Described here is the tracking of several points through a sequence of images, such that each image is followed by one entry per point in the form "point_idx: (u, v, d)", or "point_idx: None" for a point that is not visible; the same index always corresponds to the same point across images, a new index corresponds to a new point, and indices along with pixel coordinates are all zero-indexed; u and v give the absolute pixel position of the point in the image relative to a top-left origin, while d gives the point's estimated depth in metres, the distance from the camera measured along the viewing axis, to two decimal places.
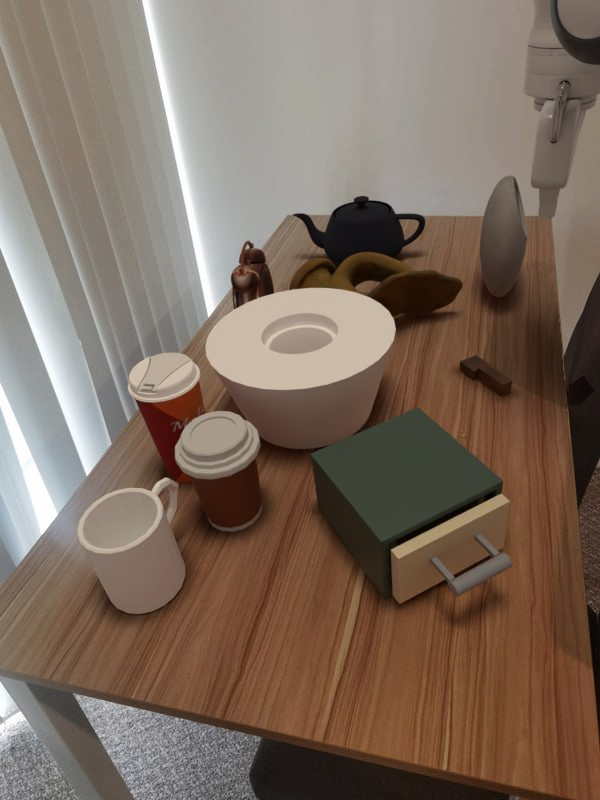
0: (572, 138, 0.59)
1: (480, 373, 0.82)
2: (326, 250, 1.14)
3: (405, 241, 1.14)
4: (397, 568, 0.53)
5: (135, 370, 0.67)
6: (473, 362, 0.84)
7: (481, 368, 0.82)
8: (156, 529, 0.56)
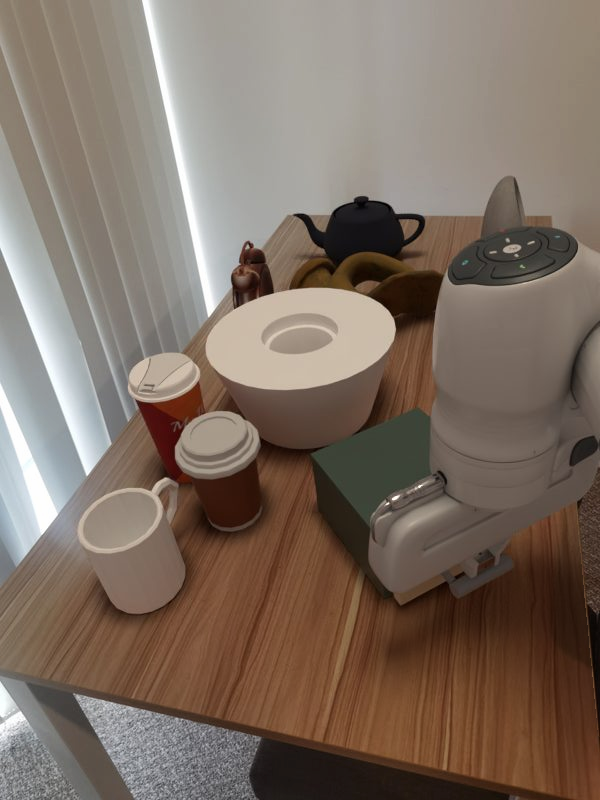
0: (396, 555, 0.43)
1: None
2: (326, 250, 1.14)
3: (405, 241, 1.14)
4: None
5: (135, 370, 0.67)
6: None
7: None
8: (156, 529, 0.56)
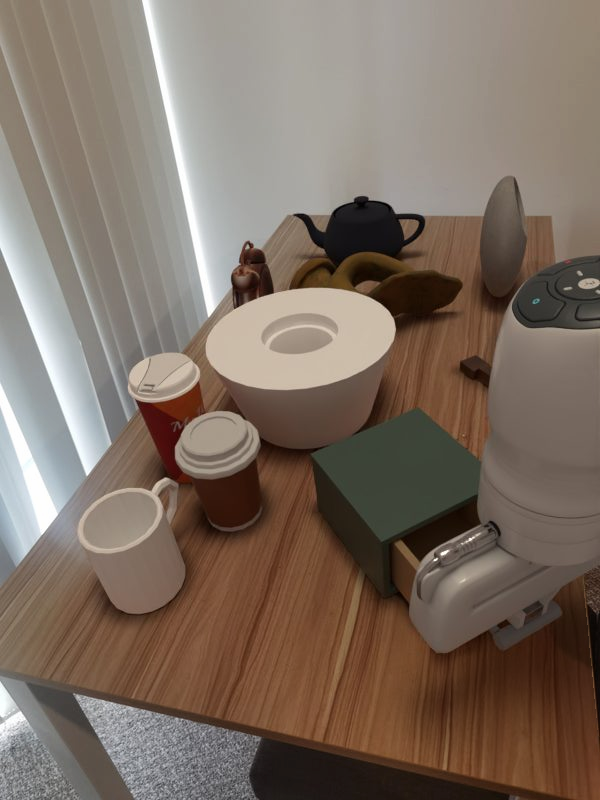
0: (445, 615, 0.39)
1: (480, 373, 0.82)
2: (326, 250, 1.14)
3: (405, 241, 1.14)
4: None
5: (135, 370, 0.67)
6: (473, 362, 0.84)
7: (481, 368, 0.82)
8: (156, 529, 0.56)
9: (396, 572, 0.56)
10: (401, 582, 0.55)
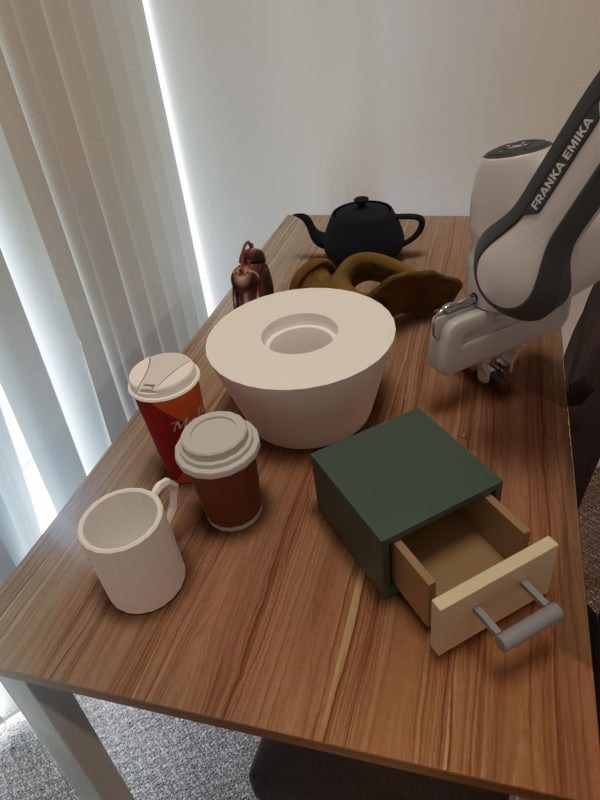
0: (447, 343, 0.71)
1: None
2: (326, 250, 1.14)
3: (405, 241, 1.14)
4: (438, 620, 0.49)
5: (135, 370, 0.67)
6: None
7: None
8: (156, 529, 0.56)
9: (398, 573, 0.55)
10: (402, 584, 0.55)
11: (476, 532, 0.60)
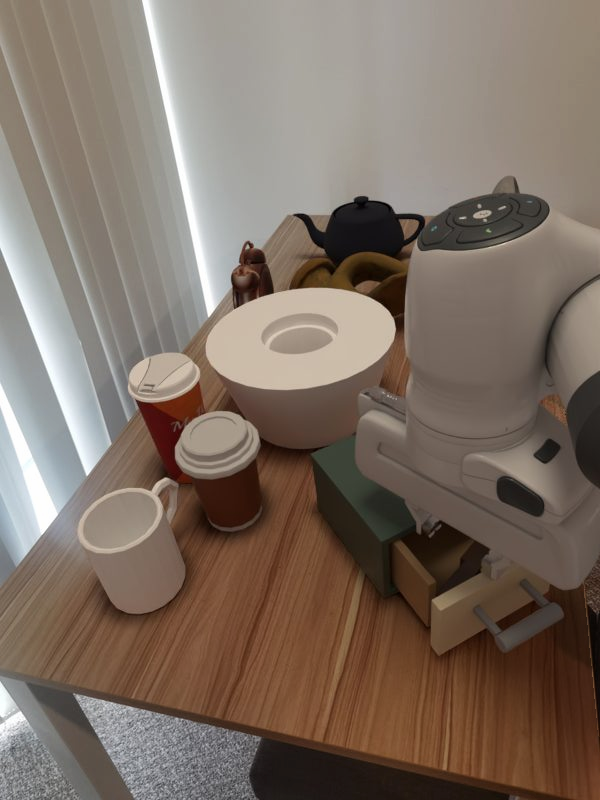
0: (356, 432, 0.50)
1: None
2: (326, 250, 1.14)
3: (405, 241, 1.14)
4: (438, 620, 0.49)
5: (135, 370, 0.67)
6: (481, 553, 0.56)
7: (465, 563, 0.55)
8: (156, 529, 0.56)
9: (398, 573, 0.55)
10: (402, 584, 0.55)
11: None
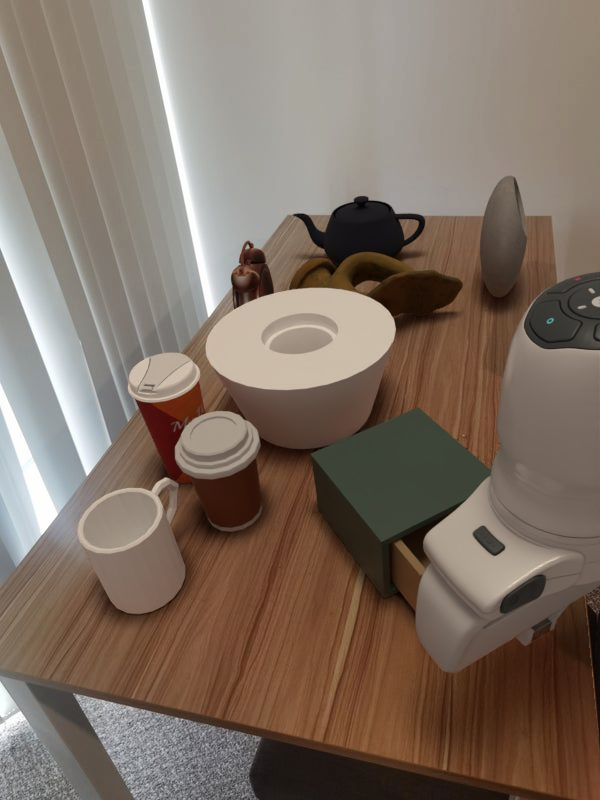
0: None
1: None
2: (326, 250, 1.14)
3: (405, 241, 1.14)
4: None
5: (135, 370, 0.67)
6: None
7: None
8: (156, 529, 0.56)
9: (391, 565, 0.56)
10: (395, 575, 0.56)
11: None
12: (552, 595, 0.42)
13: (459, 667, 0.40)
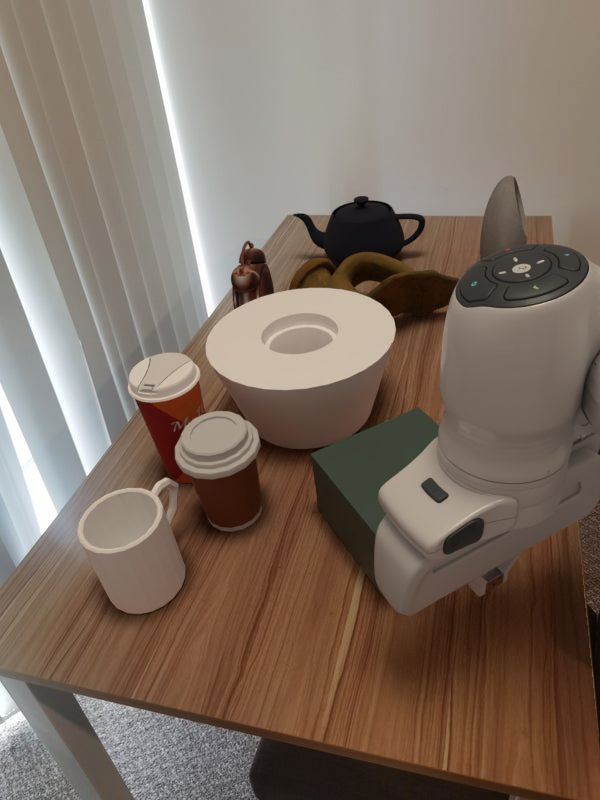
0: None
1: None
2: (326, 250, 1.14)
3: (405, 241, 1.14)
4: None
5: (135, 370, 0.67)
6: None
7: None
8: (156, 529, 0.56)
9: None
10: None
11: None
12: (499, 544, 0.46)
13: (413, 609, 0.44)
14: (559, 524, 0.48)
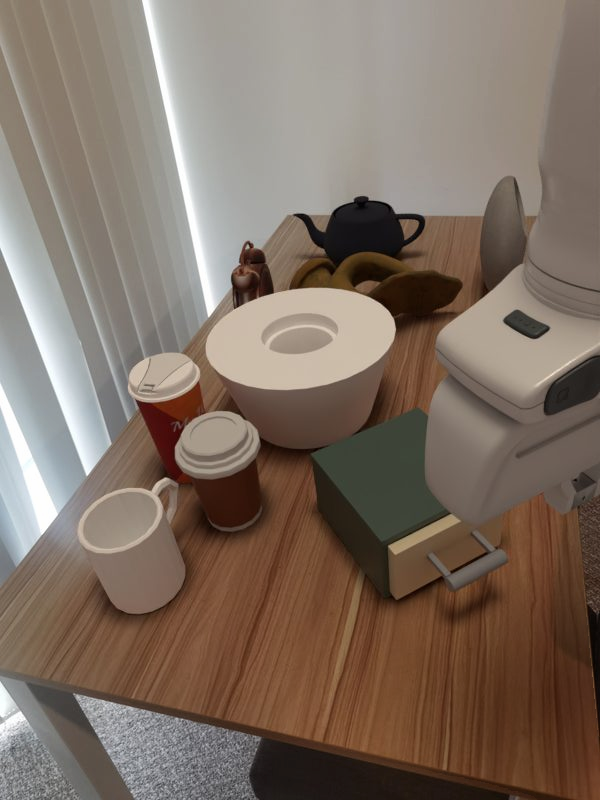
0: None
1: None
2: (326, 250, 1.14)
3: (405, 241, 1.14)
4: (394, 564, 0.53)
5: (135, 370, 0.67)
6: None
7: None
8: (156, 529, 0.56)
9: None
10: None
11: None
12: None
13: (483, 515, 0.30)
14: None
